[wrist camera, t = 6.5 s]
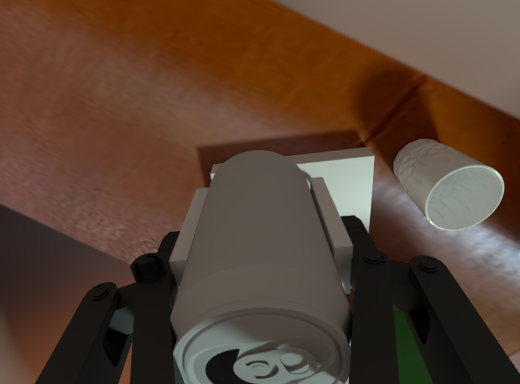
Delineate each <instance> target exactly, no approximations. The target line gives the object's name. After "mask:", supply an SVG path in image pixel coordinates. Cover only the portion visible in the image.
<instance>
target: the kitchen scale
mask: <svg viewBox="0 0 520 384" xmlns="http://www.w3.org/2000/svg"><path fill="white" fill-rule="evenodd" d="M285 157H287V158H288V159H290V160H291V161H293V162H294V163H295V164H296V165H297V166H298V167H299V168H300V169H301V171H302V172H303V174H304V176H305V177H306V180H307V182H308V185H309V188H310V178H315V177H323V179H324V181H325V183H326V186H327V188H328V190H329V192H330V195H331V197H332V199H333V202H334V204H335V206H336V208H337V211H338V213H339V215H340V216H349V215H355V216H356V217H358V218H359V219H360V220H362V222H363V224H364V226H365V228H366V230H367V231H368V233H369V224H370V210H371V197H372V183H373V169H374V155H373V154H372V153H371V152H370V150H369V149H368V148H367V147H363V148H354V149H346V150H337V151H328V152H319V153H310V154H301V155H292V156H285ZM222 164H223V163H220V164H213V167H212V170H211V173H210V174H211V179H212V178H213V176H214V174H215V173H216V171H217V170H218V169H219V167H220V166H221V165H222ZM351 289H352V287H351Z"/></svg>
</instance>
